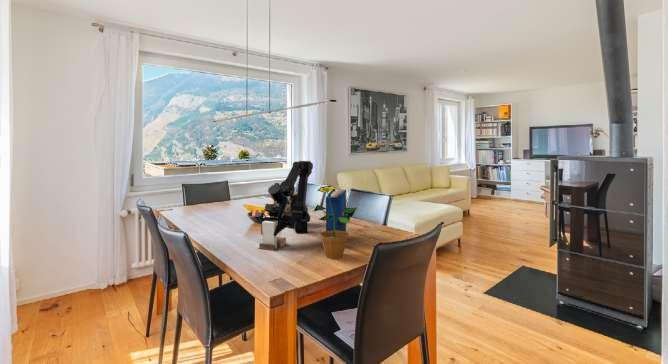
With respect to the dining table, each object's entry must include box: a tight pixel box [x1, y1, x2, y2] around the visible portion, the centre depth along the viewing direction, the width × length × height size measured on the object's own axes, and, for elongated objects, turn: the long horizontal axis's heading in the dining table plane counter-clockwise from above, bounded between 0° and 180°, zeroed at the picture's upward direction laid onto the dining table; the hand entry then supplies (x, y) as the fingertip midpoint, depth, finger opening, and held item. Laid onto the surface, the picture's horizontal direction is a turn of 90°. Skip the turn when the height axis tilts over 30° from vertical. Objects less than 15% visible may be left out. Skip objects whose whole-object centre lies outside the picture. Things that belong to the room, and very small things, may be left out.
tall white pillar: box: [261, 221, 278, 248], centre depth 158 cm, size 2×6×12 cm, turn 70°
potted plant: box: [313, 185, 358, 260], centre depth 148 cm, size 18×19×30 cm
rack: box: [257, 242, 288, 252], centre depth 161 cm, size 12×9×3 cm
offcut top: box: [277, 236, 287, 243], centre depth 164 cm, size 5×8×2 cm, turn 70°
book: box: [325, 188, 347, 232], centre depth 172 cm, size 22×7×25 cm, turn 168°
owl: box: [282, 191, 298, 230], centre depth 203 cm, size 13×13×20 cm
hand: (267, 235), depth 157 cm, fingers closed on tall white pillar, 6 cm apart
